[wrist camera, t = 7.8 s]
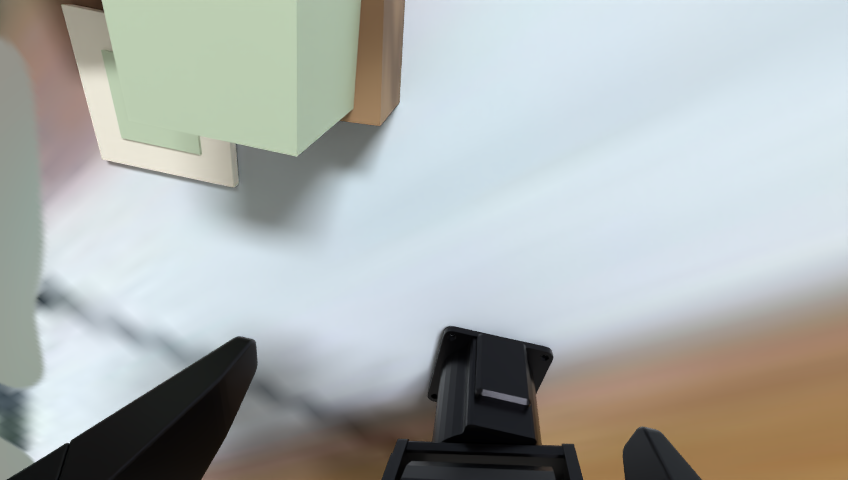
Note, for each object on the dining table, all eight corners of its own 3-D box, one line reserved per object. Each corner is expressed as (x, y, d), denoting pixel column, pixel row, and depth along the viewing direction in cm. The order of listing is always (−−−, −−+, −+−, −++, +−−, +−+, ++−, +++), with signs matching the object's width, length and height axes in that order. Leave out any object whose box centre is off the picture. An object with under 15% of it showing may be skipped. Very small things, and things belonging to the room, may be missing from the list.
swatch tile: (238, 183, 21) (232, 188, 21) (109, 156, 21) (99, 160, 21) (227, 36, 18) (218, 37, 17) (71, 4, 18) (58, 4, 17)
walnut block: (400, 101, 18) (379, 126, 15) (271, 85, 19) (222, 105, 15) (409, -66, 15) (386, -83, 12) (253, -80, 16) (188, -101, 12)
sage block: (353, 108, 15) (296, 156, 10) (232, 83, 15) (128, 120, 11) (364, -43, 12) (296, -59, 8) (219, -71, 12) (78, -102, 8)
